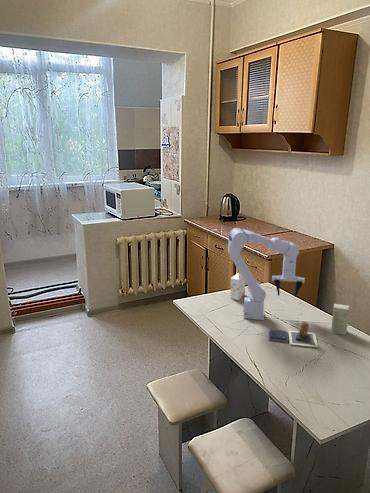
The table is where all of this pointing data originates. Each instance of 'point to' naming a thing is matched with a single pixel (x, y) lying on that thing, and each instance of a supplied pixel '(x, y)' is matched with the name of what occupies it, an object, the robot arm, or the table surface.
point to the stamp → (303, 333)
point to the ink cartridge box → (237, 287)
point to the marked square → (294, 342)
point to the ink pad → (278, 336)
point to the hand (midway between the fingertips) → (286, 295)
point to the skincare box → (340, 319)
